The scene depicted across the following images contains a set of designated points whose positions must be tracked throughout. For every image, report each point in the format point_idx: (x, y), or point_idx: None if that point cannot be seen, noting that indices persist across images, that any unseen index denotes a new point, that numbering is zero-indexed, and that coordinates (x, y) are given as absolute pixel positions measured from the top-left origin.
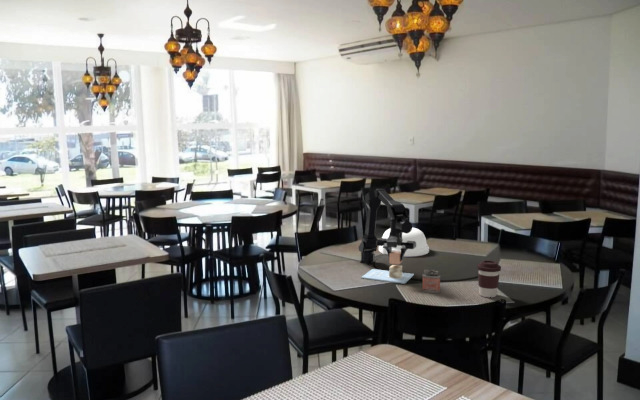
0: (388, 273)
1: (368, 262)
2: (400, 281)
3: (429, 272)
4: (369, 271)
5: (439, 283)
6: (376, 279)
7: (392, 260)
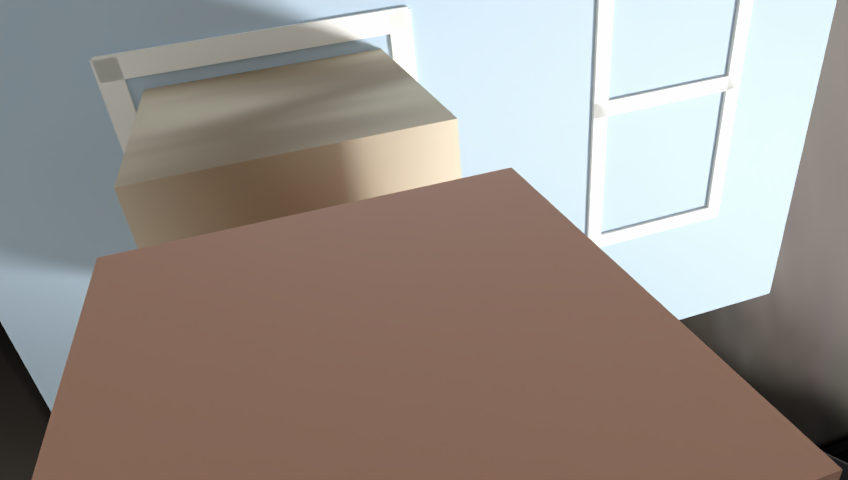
0: None
1: (841, 457)
2: None
3: None
4: (794, 159)
5: None
6: None
7: (431, 258)
